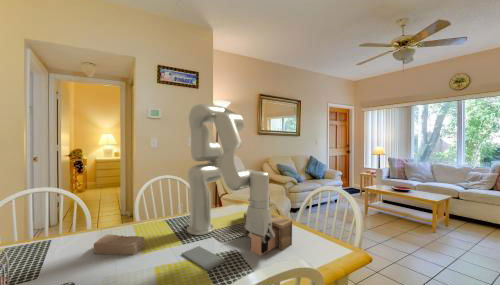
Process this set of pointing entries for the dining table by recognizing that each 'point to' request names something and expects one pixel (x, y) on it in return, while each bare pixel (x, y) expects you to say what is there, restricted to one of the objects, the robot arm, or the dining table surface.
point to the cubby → (284, 230)
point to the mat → (203, 258)
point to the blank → (257, 241)
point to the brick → (119, 245)
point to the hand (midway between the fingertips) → (259, 248)
